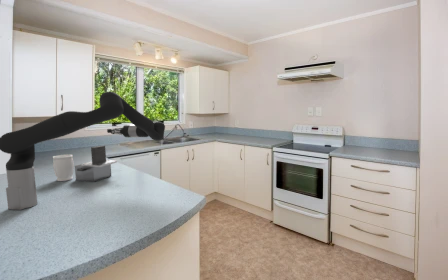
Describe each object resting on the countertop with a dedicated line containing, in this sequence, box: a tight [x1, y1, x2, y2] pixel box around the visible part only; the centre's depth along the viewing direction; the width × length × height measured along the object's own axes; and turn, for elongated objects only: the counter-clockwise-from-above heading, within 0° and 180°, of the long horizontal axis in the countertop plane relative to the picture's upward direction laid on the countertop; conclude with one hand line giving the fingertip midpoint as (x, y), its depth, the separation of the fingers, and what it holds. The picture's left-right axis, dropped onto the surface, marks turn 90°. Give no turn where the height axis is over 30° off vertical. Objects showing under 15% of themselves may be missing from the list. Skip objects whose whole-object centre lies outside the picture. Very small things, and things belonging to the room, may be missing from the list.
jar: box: [52, 153, 75, 182], centre depth 146 cm, size 11×10×15 cm
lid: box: [81, 145, 118, 167], centre depth 147 cm, size 14×14×11 cm
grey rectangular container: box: [74, 163, 112, 183], centre depth 150 cm, size 20×14×9 cm
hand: (108, 130), depth 143 cm, fingers closed
